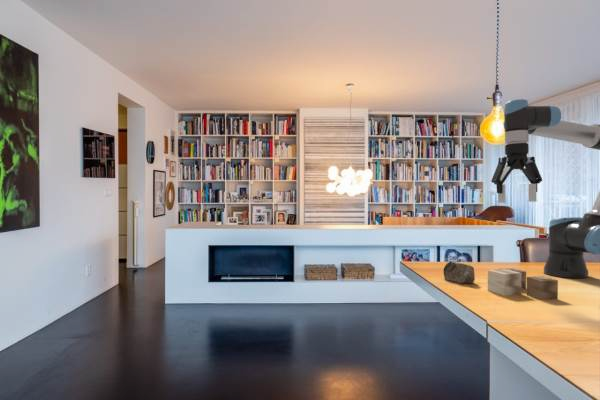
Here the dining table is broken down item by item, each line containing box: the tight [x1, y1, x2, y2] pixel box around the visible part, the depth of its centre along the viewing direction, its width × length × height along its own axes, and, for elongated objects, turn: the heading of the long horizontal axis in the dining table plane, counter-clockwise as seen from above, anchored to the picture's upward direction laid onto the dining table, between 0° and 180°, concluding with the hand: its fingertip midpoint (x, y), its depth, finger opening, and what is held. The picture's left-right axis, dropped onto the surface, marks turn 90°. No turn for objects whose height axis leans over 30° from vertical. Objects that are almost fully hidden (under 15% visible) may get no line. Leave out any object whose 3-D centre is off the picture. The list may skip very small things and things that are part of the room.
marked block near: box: [505, 267, 527, 290], centre depth 141 cm, size 6×6×6 cm
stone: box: [443, 260, 476, 284], centre depth 150 cm, size 7×12×7 cm, turn 33°
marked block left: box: [525, 275, 559, 301], centre depth 127 cm, size 6×6×6 cm
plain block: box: [487, 268, 522, 297], centre depth 133 cm, size 7×7×7 cm
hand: (517, 202), depth 146 cm, fingers open, 13 cm apart
